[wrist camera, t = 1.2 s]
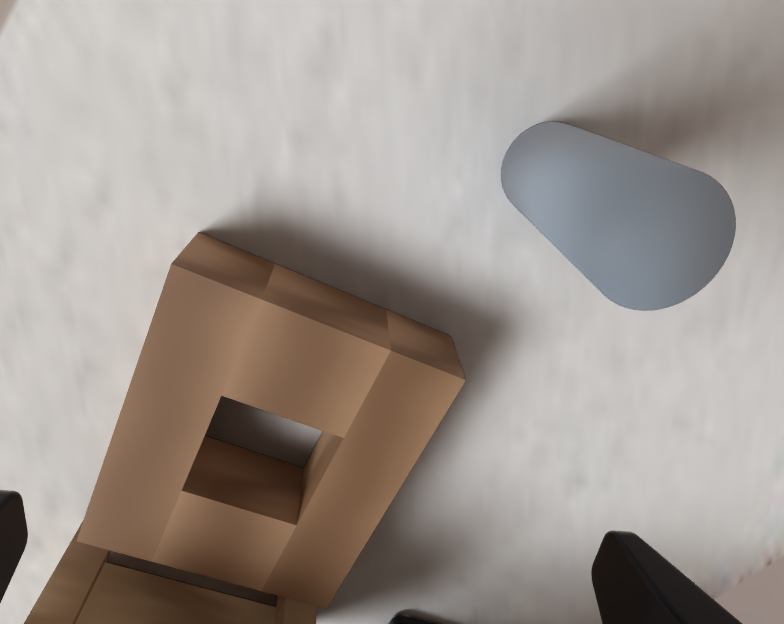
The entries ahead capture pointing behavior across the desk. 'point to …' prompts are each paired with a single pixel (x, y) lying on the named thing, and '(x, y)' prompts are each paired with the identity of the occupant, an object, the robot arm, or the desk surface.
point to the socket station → (246, 468)
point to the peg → (621, 213)
